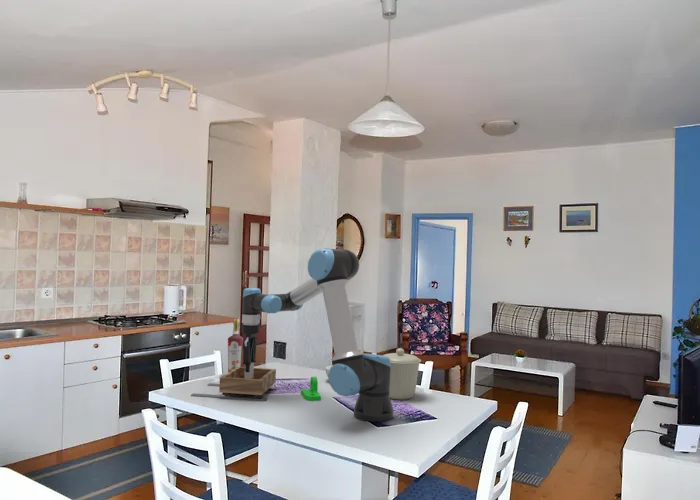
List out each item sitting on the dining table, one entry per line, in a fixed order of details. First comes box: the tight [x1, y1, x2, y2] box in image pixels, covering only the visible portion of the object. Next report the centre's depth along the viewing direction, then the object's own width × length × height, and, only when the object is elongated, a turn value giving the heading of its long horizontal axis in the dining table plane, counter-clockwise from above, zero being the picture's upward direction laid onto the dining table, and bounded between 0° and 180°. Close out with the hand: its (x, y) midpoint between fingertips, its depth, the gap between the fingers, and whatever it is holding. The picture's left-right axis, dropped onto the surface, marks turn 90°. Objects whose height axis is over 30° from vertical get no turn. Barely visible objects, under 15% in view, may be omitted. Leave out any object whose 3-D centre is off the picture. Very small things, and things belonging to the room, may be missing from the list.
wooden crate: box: [218, 366, 277, 398], centre depth 225 cm, size 22×18×8 cm
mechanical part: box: [300, 376, 322, 402], centre depth 221 cm, size 12×6×8 cm, turn 17°
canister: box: [382, 347, 422, 401], centre depth 226 cm, size 18×18×21 cm
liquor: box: [227, 318, 244, 373], centre depth 252 cm, size 7×7×28 cm
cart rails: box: [190, 382, 279, 402], centre depth 225 cm, size 20×32×1 cm, turn 84°
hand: (248, 378), depth 225 cm, fingers open, 3 cm apart
